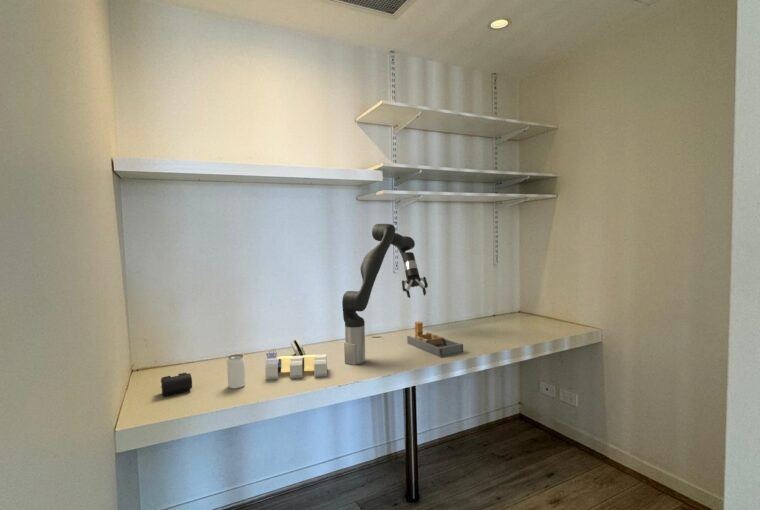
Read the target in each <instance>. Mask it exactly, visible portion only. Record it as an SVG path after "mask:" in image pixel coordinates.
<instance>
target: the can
mask: <svg viewBox="0 0 760 510" xmlns="http://www.w3.org/2000/svg"><path fill="white" fill-rule="evenodd" d="M227 358H228V359H227V361H226V362H227V363H226V365H227V367H226V368H227V386H228V388H229V389H231V390H233V389H234V390H238V389H241V388H243V387H245V385H246V367H245V365H246V364H245V358H244V355H243V354H232V355H229V356H228V357H227Z"/></svg>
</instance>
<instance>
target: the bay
mask: <svg viewBox="0 0 760 510" xmlns="http://www.w3.org/2000/svg"><path fill="white" fill-rule="evenodd" d="M426 334H431V333H430V332H426ZM443 338H444V345H440V346H434V345H431V344H429V343H426V342H424V341H421V340H419V339H416V338H415V337H413V336H410V335H406V340H407V341H406V342H407V344H408V345H411V346H413V347H415V348H418V349H420V350H422V351H425V352H427V353H429V354H430V355H431V354H432V355H433V356H436V357H438V358H445V357H449V356H455V355H460V354H464V343H458V342H456V341H453V340H450V339H447V338H445V337H443Z"/></svg>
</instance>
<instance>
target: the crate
mask: <svg viewBox="0 0 760 510" xmlns="http://www.w3.org/2000/svg"><path fill="white" fill-rule="evenodd" d="M423 325H424V324H423V322H422V321H415V322H414V336H415V337H414V338H416V339H419V340H421V341H424V342H426V343H429V344H431V345H434V346H440V345H444V338H445V337H443V336H440V335H436V334H434V333H431V334H427V333H425V334H424V333H423V331H424V330H423V328H424V327H423Z"/></svg>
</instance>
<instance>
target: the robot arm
mask: <svg viewBox="0 0 760 510" xmlns="http://www.w3.org/2000/svg"><path fill="white" fill-rule="evenodd" d="M371 234H372V238H373V240H375V241H377V242H378V244H377V245H376V246H375V247H373V248H372V249H371V250H370V251H369V252H367V254H366V255H365V256H364V258H363V261H362V263H361V264H360V275H361V279H362V285H361V286H360V289H359V290H358V291H357V290H346V292H344V294H343V296H342V317H343V319H342V320H343V321H344V337H345V338H344V339H345V341H344V351H343V352H344V364H348V365H353V366H356V365H361V364H363V363H364V364H365V363H366V333H365V332H366V328H365V327H366V326H365V325H366V324H365V323H366V322H365V319H364V318H363V317H361V316H360V315H359V314H358V313H357V312H359V313H361V312H363V311H365V310H366V308H367V306H368V304H369V301H370V297H371V294H372V290H373V288H374V284H375V282H376V279H377V277H378V274H379V272H380V270H381V267H382V265H383V262H384V260H385V256H386V254H387V252H388V250H389V248H390V247H391V246H393V247H394V246H395V247H396V248H397V250H398V252H399V253H400V255H401V258H402V262H403V269H404V272H405V278H406V280H403V279H402V280H401V286H402V292H406V295H407V298H408V299H410V298H411V294H410V290H411V288H414V287H419V288H420V289H422V294H423V296H426V295H427V291H426V289H427V288H428V281H427V278H426V276H423V277H420V272H419V269H418V264H417V260H416V258H415V253H414V252H412V251H411V252H407V251H410V250H412V249H414V247H415V245H416V243H415V242H416V241H415V240H414V238H412V237H410V236H406V235H405V236H403V235H401V234H400V233H397V232H396V228H395V226H394V225H393V224H391V223H376V224H374V225H373V227H372V230H371ZM406 284H407V288H406V286H405V285H406Z"/></svg>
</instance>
